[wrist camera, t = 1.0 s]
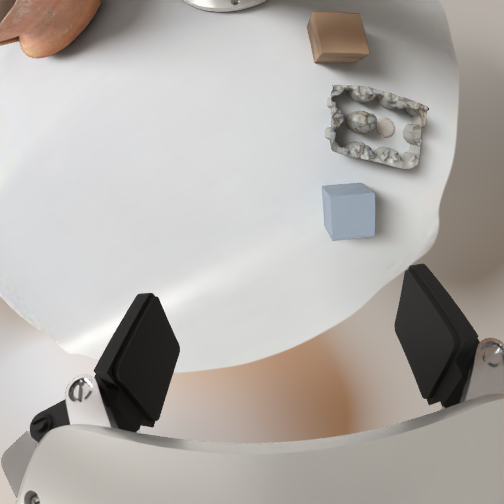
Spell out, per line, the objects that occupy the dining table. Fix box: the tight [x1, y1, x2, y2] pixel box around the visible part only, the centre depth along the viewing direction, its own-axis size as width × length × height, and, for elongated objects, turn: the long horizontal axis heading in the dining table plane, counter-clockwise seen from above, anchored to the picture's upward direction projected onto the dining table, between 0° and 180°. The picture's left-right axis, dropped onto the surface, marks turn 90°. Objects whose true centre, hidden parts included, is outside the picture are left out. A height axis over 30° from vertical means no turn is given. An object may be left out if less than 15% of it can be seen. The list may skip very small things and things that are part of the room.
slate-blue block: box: [322, 183, 375, 241], centre depth 27 cm, size 4×4×4 cm
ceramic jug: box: [0, 0, 102, 58], centre depth 12 cm, size 18×14×14 cm
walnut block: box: [307, 12, 370, 63], centre depth 19 cm, size 4×4×4 cm
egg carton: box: [325, 85, 429, 169], centre depth 23 cm, size 11×8×4 cm
